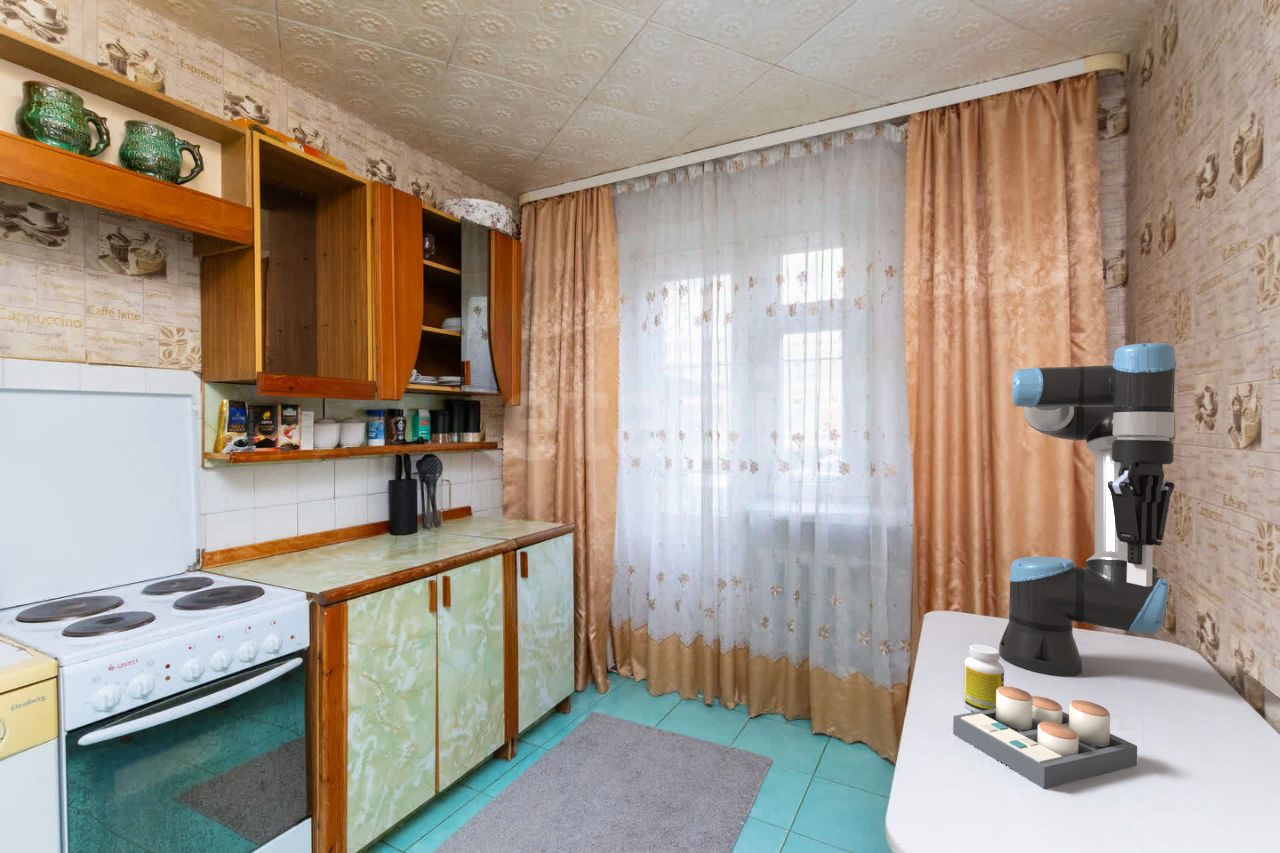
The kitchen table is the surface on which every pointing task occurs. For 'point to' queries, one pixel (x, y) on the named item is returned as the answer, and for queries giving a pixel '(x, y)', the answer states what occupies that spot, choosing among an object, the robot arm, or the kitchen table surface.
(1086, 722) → the button
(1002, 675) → the pill bottle
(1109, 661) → the kitchen table surface
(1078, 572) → the robot arm
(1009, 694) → the button
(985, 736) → the board
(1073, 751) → the button
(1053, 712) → the button
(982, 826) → the kitchen table surface
